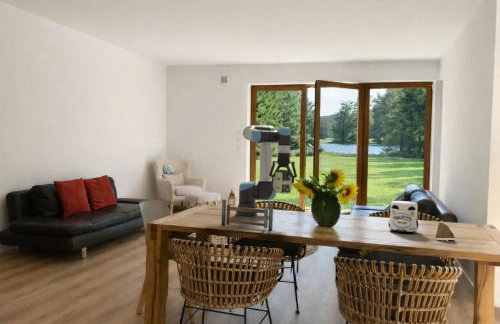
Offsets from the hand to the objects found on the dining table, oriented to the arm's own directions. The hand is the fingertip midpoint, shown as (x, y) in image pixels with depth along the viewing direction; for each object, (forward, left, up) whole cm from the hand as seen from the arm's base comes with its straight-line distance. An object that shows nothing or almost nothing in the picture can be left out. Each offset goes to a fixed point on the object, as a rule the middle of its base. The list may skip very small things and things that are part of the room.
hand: (282, 188), depth 262 cm
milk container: (-19, +72, -24) cm, 79 cm away
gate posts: (+14, -18, -24) cm, 33 cm away
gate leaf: (+14, -18, -23) cm, 32 cm away
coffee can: (0, 0, -3) cm, 3 cm away
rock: (-4, +94, -24) cm, 97 cm away
